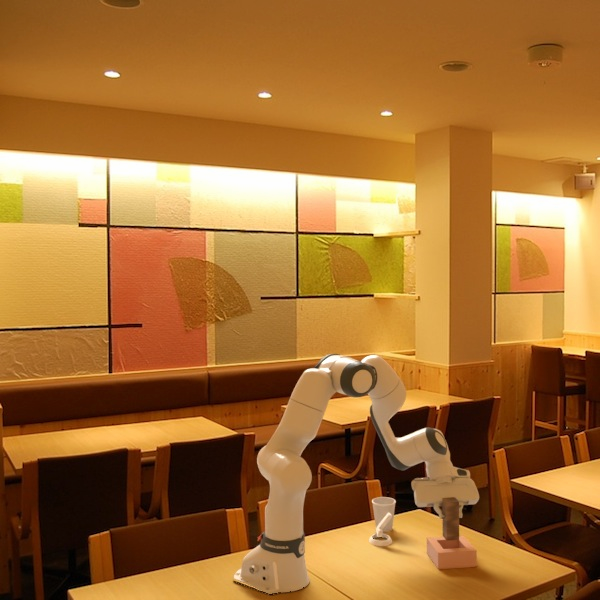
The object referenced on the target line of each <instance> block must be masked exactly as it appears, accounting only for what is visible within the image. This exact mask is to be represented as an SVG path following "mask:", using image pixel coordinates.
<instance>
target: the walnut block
mask: <svg viewBox="0 0 600 600" xmlns="http://www.w3.org/2000/svg"><path fill="white" fill-rule="evenodd" d="M442 499H443V502H442V506H441V507H442V509H441V511H444V512H445V516H446V517H445V519H442V537H444V538H445V539H446V540H447V541H449V540H459V536H460V518H459V509H460V508H459V501H458V500H457V499H456V498H455V497H451V498H442Z"/></svg>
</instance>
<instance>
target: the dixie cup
mask: <svg viewBox="0 0 600 600" xmlns="http://www.w3.org/2000/svg"><path fill="white" fill-rule="evenodd" d="M371 503H372V509H373V515H374V523H375V525H374V526H375V529H376V528H377V526H378V525H379V523H380V522H381V521H382V520H383V518H384V517H385V516H386V515H387V513H390V514H391V515H392V518H391V519H390V520H389V522H388V523H387V524H386V525H385V526H384V528H383V533H388V531H389V532H391V531H392V530H393V529H394V528H393V526H394V518H395V517H394V516H395V509H396V508H395V507H396V503H397V500H396V499H394V498H392V497H387V496H379V497H375V498H372V499H371Z"/></svg>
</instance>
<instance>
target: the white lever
mask: <svg viewBox="0 0 600 600" xmlns="http://www.w3.org/2000/svg"><path fill="white" fill-rule="evenodd" d="M391 518H392V515H391V514H390V513H387V515H386V516H385V517H384V518H383V520H382V521H381V522H380V523H379V525H378V526H377V528H376V527H375V533H374V534H372V535H370V537H369V539H368V543H369V542H370V543H371V544H370V543H369V544H370V545H372V544H373V545H372V546H375V545H376V547H386V546H390V545H392V543H393V540H392V538H391V536H390V535H388V534H387V533H384V532H383V528H384V526H385V525H386V524H387V523H388V522H389V520H390V519H391ZM377 537H382V538H381V539H383V540H381V539H378V538H377ZM373 538H374V539H373ZM386 538H387V539H386Z"/></svg>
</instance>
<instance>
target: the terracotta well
mask: <svg viewBox="0 0 600 600" xmlns="http://www.w3.org/2000/svg"><path fill="white" fill-rule="evenodd" d="M477 553H478V552H477V549H476V548H475V547H474V546H473V544H471V543H470V541H469V540H468V539H467V538H466V537H465V536H464V535H459V540H449V541H447V540H446V539H445V538H444V537H443V536H433V537H429V536H428V537H426V555H428V557H429V558H430V560H431V561H432V562H433V564H434V566H435V567H436V568H437V570H443V569H444V570H445V569H447V570H448V569H461V568H477V565H478V564H477V562H478V560H477V559H478V558H477Z"/></svg>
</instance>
